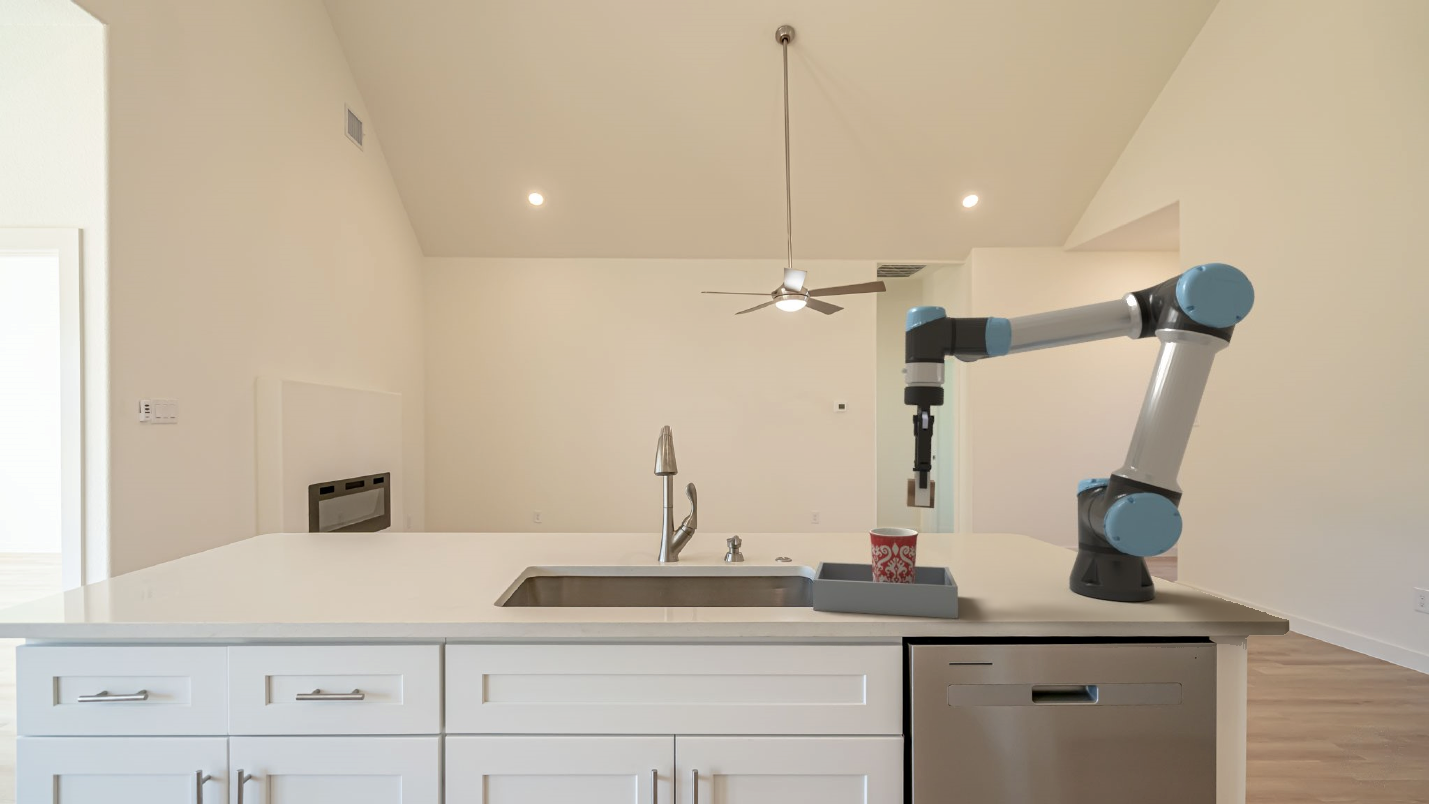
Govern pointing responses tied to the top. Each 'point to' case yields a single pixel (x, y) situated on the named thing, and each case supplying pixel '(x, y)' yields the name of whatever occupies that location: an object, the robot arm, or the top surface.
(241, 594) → the top surface
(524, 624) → the top surface
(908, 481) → the cube
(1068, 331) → the robot arm
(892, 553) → the mug
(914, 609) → the tote
